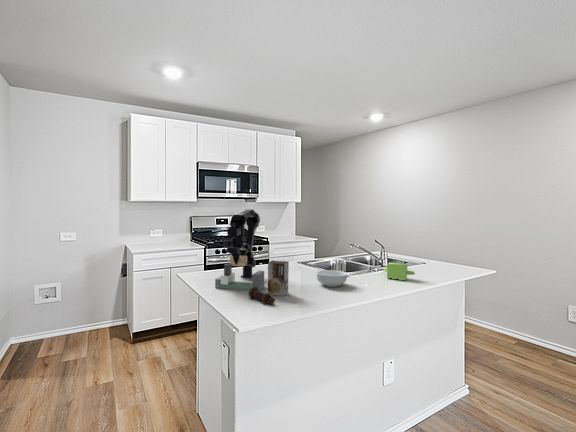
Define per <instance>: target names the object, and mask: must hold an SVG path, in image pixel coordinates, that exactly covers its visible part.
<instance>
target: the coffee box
mask: <svg viewBox="0 0 576 432" xmlns="http://www.w3.org/2000/svg"><path fill="white" fill-rule="evenodd" d="M267 293H269V294H270V295H271V296H281V297H286V295H288V294H289V261H285V260H282V261H281V260H270V261H269V262H267Z"/></svg>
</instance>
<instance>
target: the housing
mask: <svg viewBox="0 0 576 432" xmlns="http://www.w3.org/2000/svg"><path fill="white" fill-rule="evenodd" d="M229 264H232V267H240V266H242V268H243V266H245V265H247V256H242V255H240V257H239V260H238V263H237V264H235V262H234V259H233V256H232V255H230V256H229Z"/></svg>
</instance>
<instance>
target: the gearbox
mask: <svg viewBox="0 0 576 432" xmlns="http://www.w3.org/2000/svg"><path fill="white" fill-rule="evenodd" d="M408 266H409V265H408V264H407V263H400V262H388V263H387V267H383V272H386V279H388V278H392V279H391V280H393V279H399V280H398V281H400V280H407V279H406V278H408V276H409V275H413V276H414V275H415V274H416V273H415V271H414V270H408Z"/></svg>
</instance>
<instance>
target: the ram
mask: <svg viewBox="0 0 576 432" xmlns="http://www.w3.org/2000/svg"><path fill="white" fill-rule="evenodd" d="M232 267H233V266H232V264H230V263H224V265H223V274H222V275H220V276H221V284H223V285H229V284H230V283H232V282H234V281H236V280H235V279H236V278H235V277H236V276H235V275H236V273H235V272H233V271H232Z"/></svg>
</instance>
